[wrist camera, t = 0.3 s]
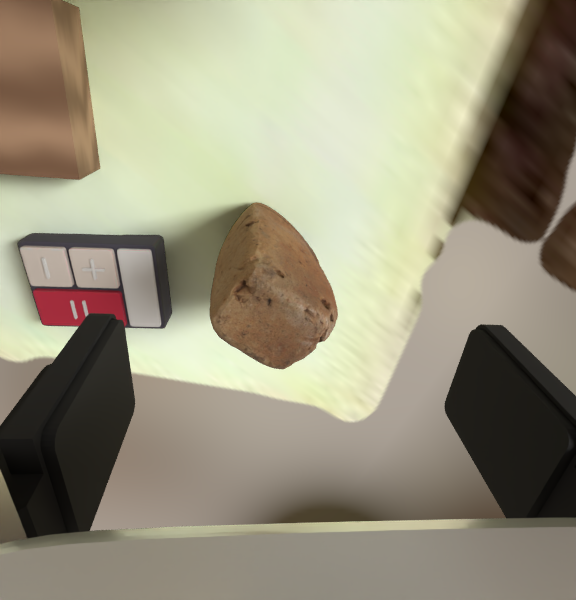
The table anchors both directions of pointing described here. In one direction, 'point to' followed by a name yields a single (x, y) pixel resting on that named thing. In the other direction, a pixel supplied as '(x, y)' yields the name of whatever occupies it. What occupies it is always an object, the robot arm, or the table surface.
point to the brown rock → (270, 291)
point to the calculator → (98, 278)
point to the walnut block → (44, 92)
